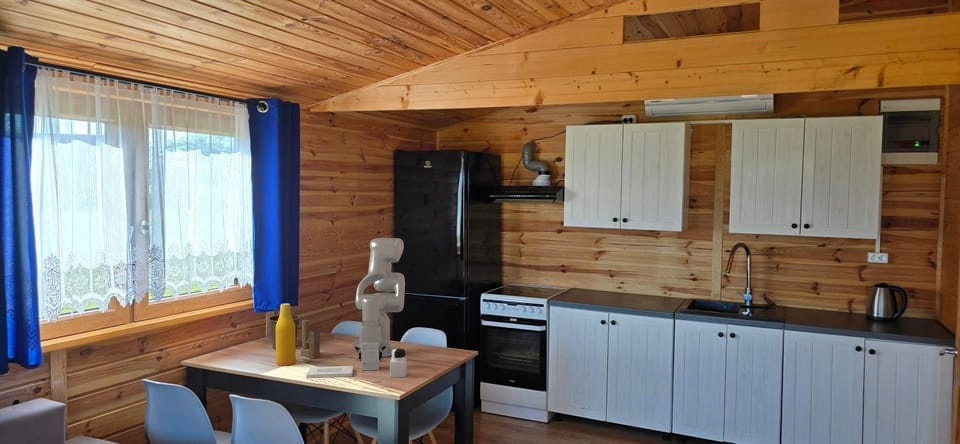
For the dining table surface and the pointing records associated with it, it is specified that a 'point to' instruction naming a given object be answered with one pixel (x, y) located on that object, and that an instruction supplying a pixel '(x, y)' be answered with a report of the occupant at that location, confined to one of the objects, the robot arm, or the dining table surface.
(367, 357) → the small box
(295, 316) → the plant pot
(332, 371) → the board
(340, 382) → the dining table surface
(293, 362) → the beer bottle
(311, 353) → the wooden block
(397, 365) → the medicine bottle
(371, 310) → the robot arm
